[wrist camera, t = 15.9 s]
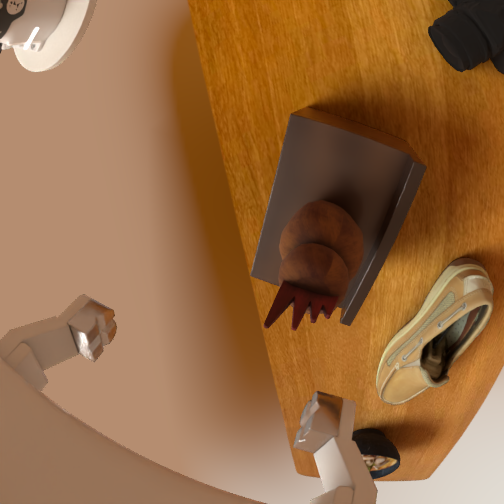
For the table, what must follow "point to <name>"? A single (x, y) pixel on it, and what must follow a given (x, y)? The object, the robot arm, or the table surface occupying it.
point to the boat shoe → (436, 333)
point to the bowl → (376, 452)
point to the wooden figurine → (316, 261)
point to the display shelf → (341, 191)
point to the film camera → (471, 34)
